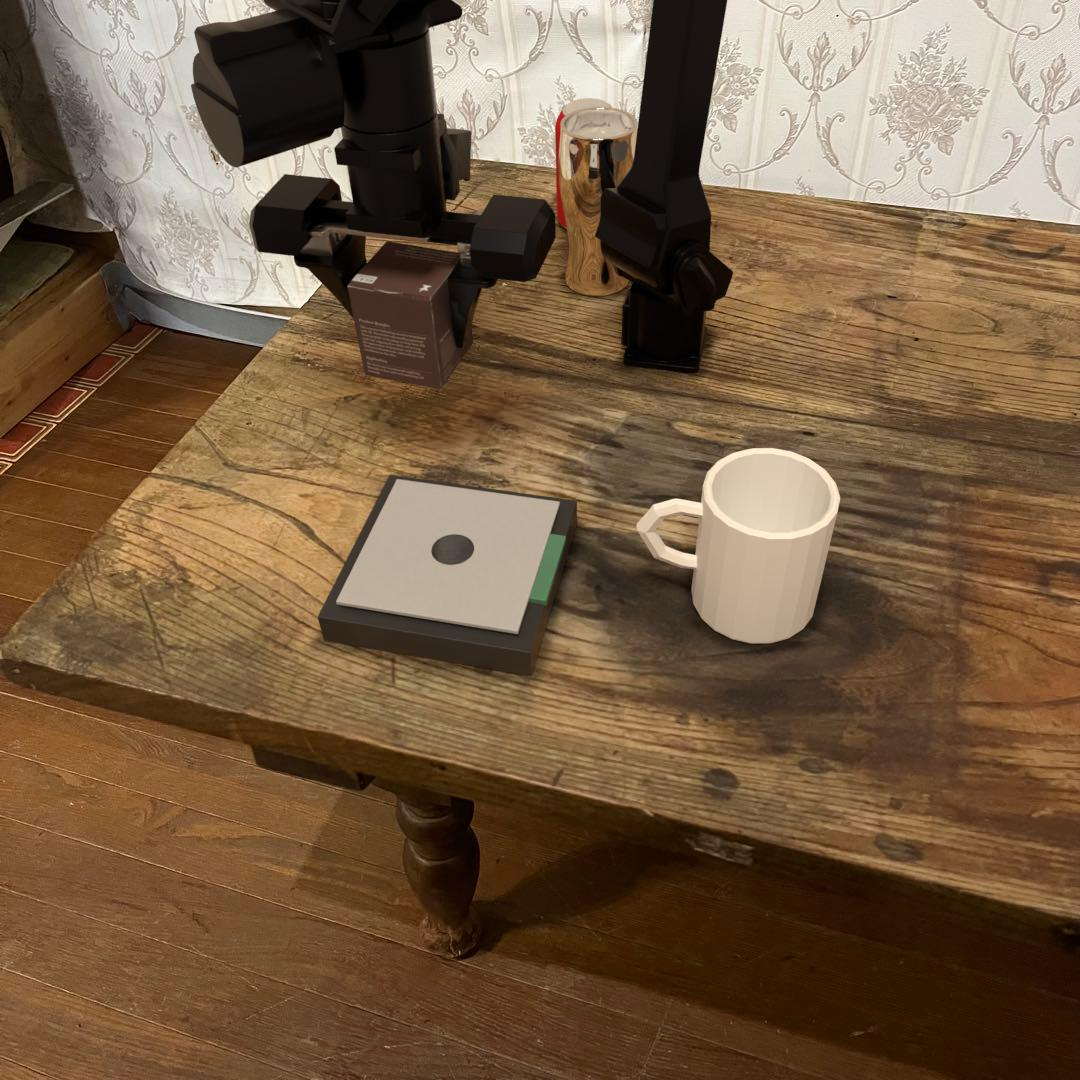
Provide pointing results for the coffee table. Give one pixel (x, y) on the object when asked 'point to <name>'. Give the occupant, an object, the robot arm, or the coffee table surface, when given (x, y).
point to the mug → (754, 542)
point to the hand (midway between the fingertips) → (417, 339)
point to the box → (406, 315)
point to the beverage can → (565, 110)
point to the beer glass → (592, 189)
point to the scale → (453, 574)
